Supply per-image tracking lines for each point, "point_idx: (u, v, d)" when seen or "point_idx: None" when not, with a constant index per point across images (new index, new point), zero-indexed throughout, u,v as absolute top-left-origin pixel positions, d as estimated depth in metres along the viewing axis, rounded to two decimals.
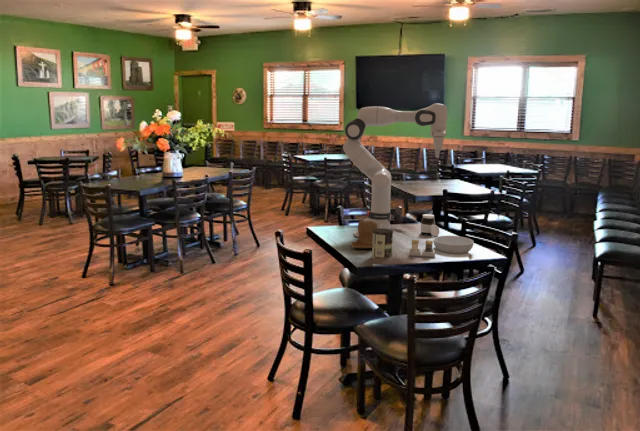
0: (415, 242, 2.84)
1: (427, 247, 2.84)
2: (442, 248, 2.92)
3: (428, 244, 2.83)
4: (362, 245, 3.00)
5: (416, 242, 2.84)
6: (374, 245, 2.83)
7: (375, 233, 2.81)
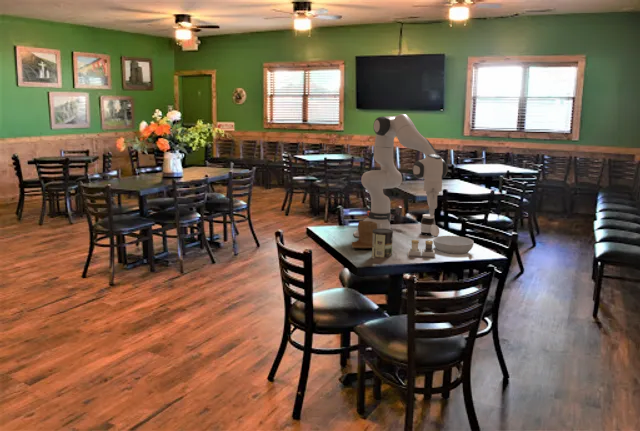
0: (415, 242, 2.84)
1: (427, 247, 2.84)
2: (442, 248, 2.92)
3: (428, 244, 2.83)
4: (362, 245, 3.00)
5: (416, 242, 2.84)
6: (374, 245, 2.83)
7: (375, 233, 2.81)
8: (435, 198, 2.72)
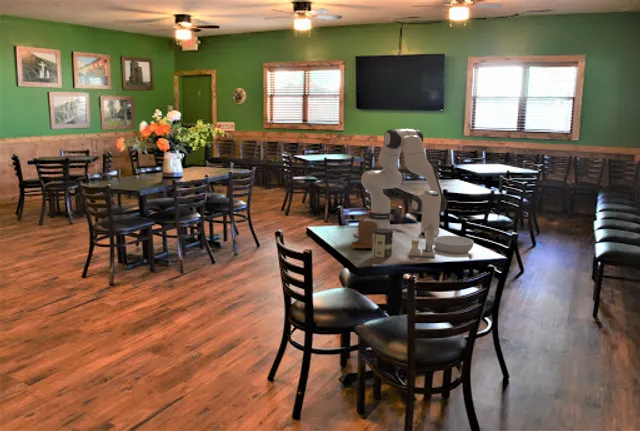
0: (415, 242, 2.84)
1: None
2: (442, 248, 2.92)
3: None
4: (362, 245, 3.00)
5: (416, 242, 2.84)
6: (374, 245, 2.83)
7: (375, 233, 2.81)
8: (432, 235, 2.74)
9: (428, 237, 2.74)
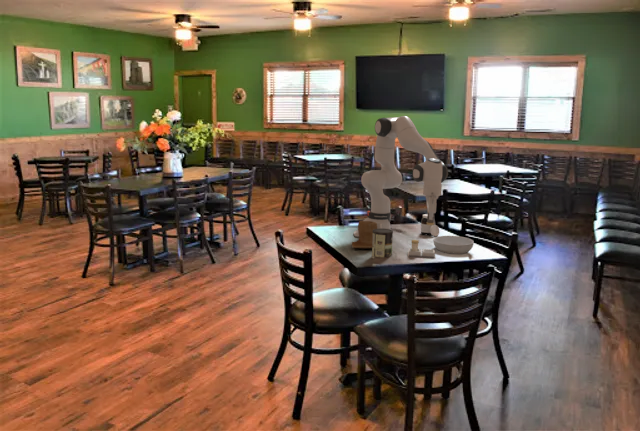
0: (415, 242, 2.84)
1: None
2: (442, 248, 2.92)
3: None
4: (362, 245, 3.00)
5: (416, 242, 2.84)
6: (374, 245, 2.83)
7: (375, 233, 2.81)
8: (434, 202, 2.71)
9: (430, 205, 2.71)
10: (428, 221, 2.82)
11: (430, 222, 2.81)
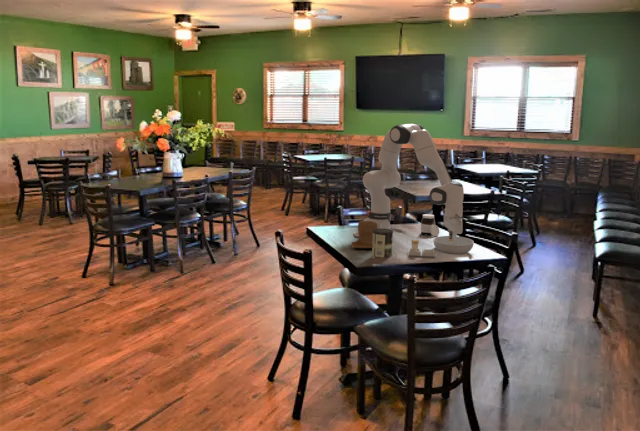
0: (415, 242, 2.84)
1: None
2: (442, 248, 2.92)
3: None
4: (362, 245, 3.00)
5: (416, 242, 2.84)
6: (374, 245, 2.83)
7: (375, 233, 2.81)
8: (461, 224, 2.85)
9: (457, 226, 2.85)
10: (451, 237, 2.95)
11: None
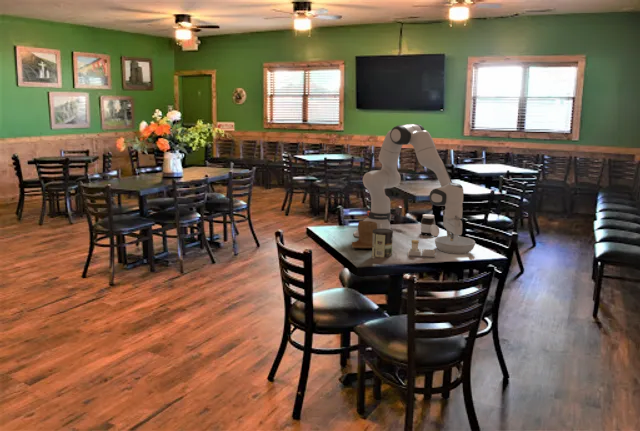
0: (415, 242, 2.84)
1: None
2: (444, 248, 2.92)
3: None
4: (362, 245, 3.00)
5: (416, 242, 2.84)
6: (374, 245, 2.83)
7: (375, 233, 2.81)
8: (460, 225, 2.86)
9: (457, 227, 2.86)
10: (452, 237, 2.95)
11: None
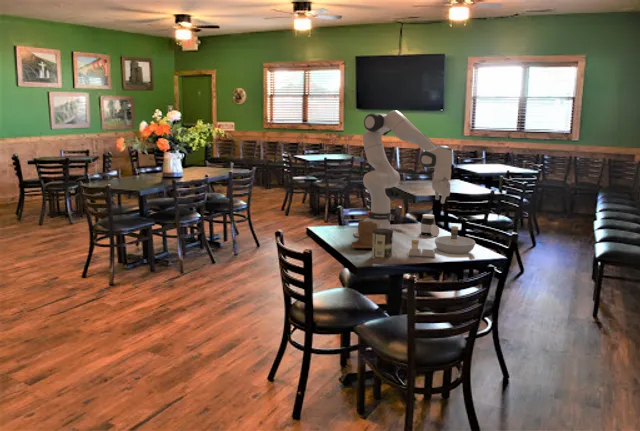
0: (415, 242, 2.84)
1: (453, 232, 2.94)
2: (444, 248, 2.92)
3: (454, 229, 2.94)
4: (362, 245, 3.00)
5: (416, 242, 2.84)
6: (374, 245, 2.83)
7: (375, 233, 2.81)
8: (449, 187, 2.94)
9: (445, 188, 2.94)
10: (452, 237, 2.95)
11: (454, 238, 2.95)
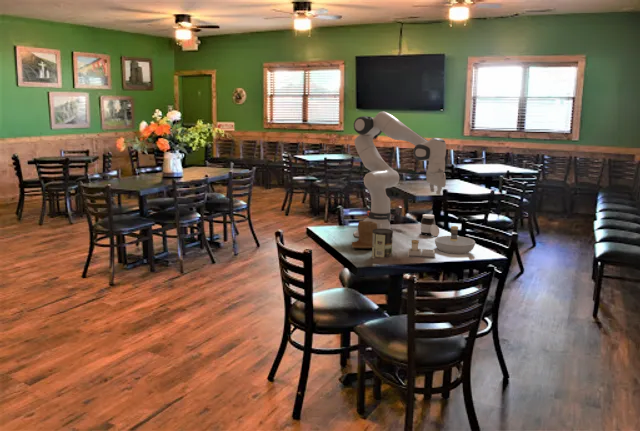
0: (415, 242, 2.84)
1: (453, 232, 2.94)
2: (444, 248, 2.92)
3: (454, 229, 2.94)
4: (362, 245, 3.00)
5: (416, 242, 2.84)
6: (374, 245, 2.83)
7: (375, 233, 2.81)
8: (444, 177, 2.99)
9: (440, 179, 2.99)
10: (452, 237, 2.95)
11: (454, 238, 2.95)
